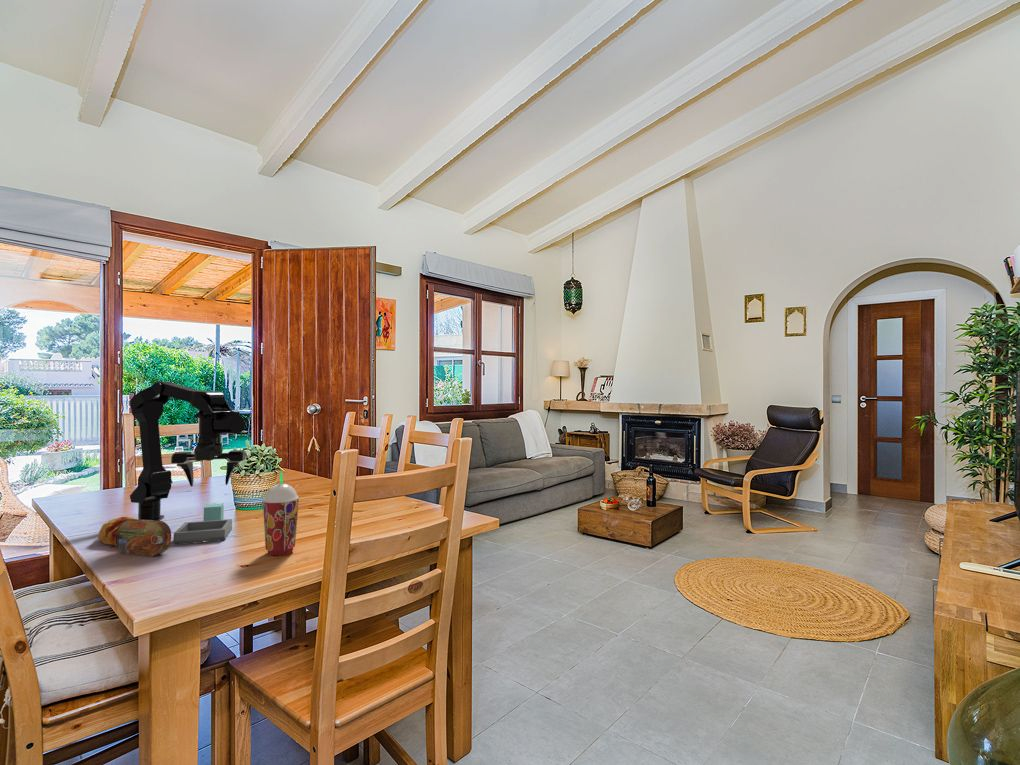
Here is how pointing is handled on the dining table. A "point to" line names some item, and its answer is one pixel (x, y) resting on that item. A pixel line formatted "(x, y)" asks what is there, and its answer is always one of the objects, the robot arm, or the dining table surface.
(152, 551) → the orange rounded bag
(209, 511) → the block
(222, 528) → the bin
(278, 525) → the smoothie
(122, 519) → the croissant
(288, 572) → the dining table surface
